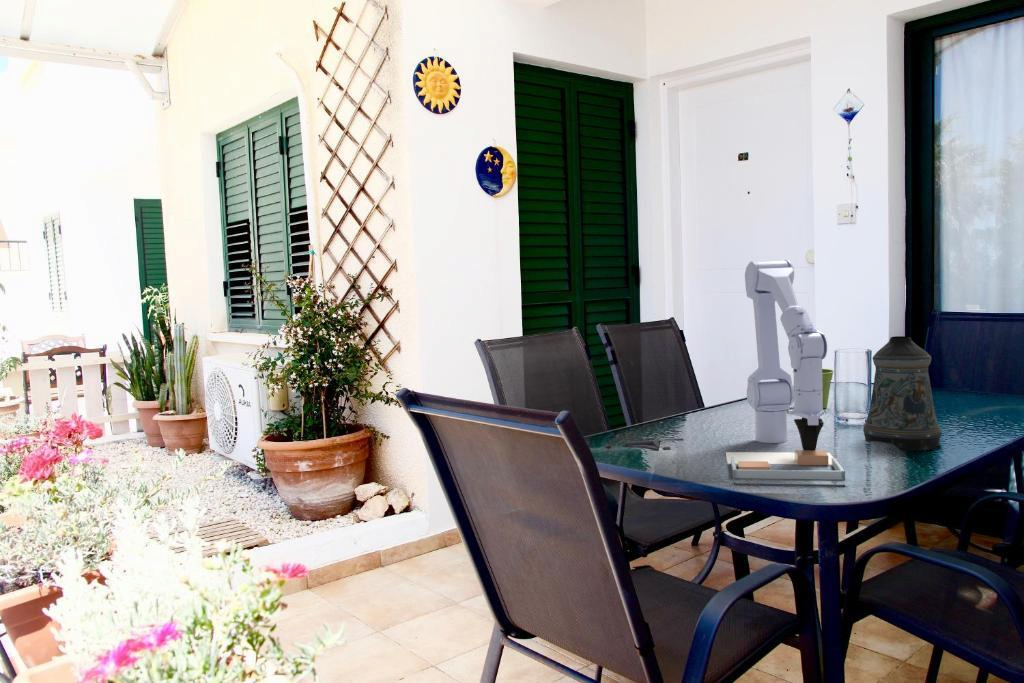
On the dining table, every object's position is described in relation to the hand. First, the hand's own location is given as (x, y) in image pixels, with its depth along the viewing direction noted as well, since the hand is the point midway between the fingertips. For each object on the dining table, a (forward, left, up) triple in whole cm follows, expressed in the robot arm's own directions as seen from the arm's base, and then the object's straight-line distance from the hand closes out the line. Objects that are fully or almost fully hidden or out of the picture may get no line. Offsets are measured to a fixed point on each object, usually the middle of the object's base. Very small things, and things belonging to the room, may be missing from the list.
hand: (809, 452), depth 170 cm
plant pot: (-75, +11, -3) cm, 76 cm away
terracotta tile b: (+3, 0, -1) cm, 4 cm away
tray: (+11, -6, -3) cm, 13 cm away
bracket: (-15, -32, -4) cm, 35 cm away
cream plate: (0, -6, -3) cm, 7 cm away
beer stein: (-25, +23, -3) cm, 34 cm away
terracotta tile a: (+9, -12, -2) cm, 15 cm away
